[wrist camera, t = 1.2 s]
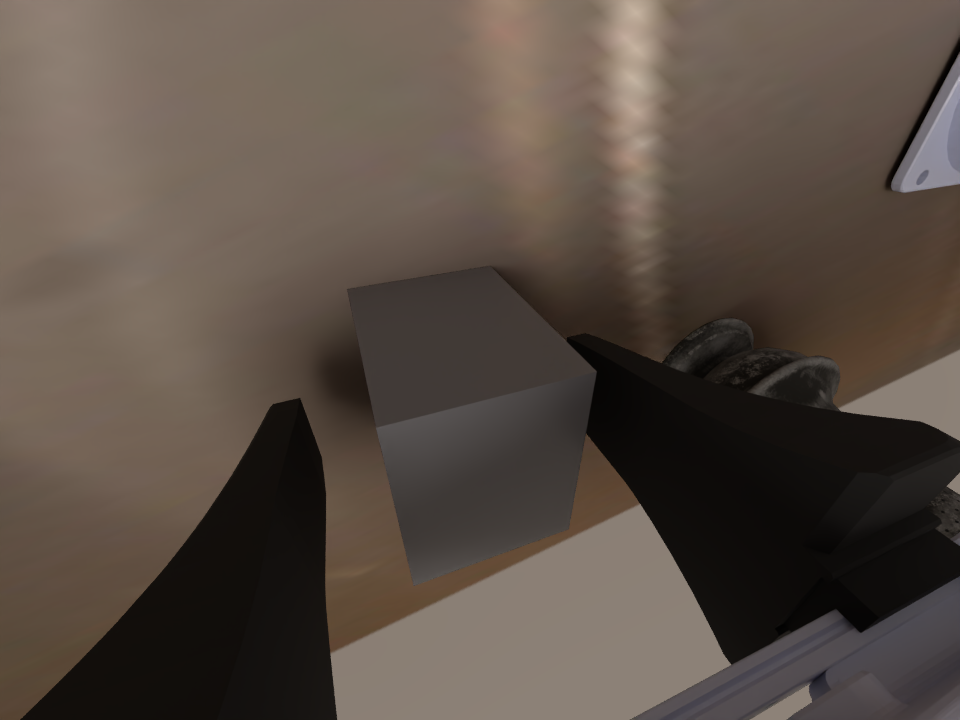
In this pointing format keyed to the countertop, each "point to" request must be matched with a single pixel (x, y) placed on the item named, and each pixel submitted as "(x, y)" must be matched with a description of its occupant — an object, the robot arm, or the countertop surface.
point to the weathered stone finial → (777, 382)
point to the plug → (471, 415)
